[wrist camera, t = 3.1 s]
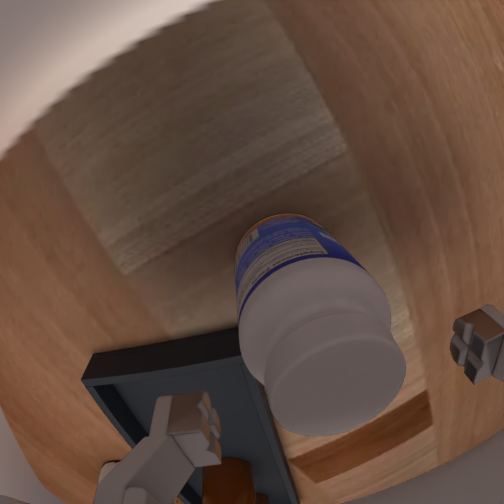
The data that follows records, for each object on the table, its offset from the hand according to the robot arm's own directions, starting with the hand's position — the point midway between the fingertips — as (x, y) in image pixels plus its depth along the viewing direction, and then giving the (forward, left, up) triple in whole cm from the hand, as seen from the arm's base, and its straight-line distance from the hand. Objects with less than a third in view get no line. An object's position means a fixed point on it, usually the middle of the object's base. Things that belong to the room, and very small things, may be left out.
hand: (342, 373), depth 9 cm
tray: (-8, -17, -9) cm, 21 cm away
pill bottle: (0, 0, -9) cm, 9 cm away
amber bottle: (-8, -18, -8) cm, 21 cm away
